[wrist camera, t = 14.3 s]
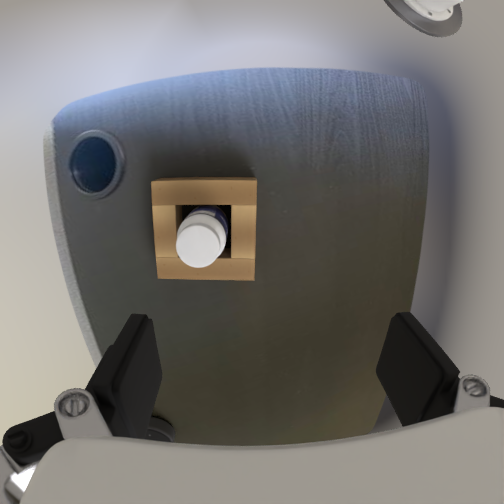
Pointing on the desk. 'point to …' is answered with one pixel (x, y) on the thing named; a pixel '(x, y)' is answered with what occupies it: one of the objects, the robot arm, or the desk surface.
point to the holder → (205, 193)
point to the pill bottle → (202, 236)
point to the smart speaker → (160, 431)
